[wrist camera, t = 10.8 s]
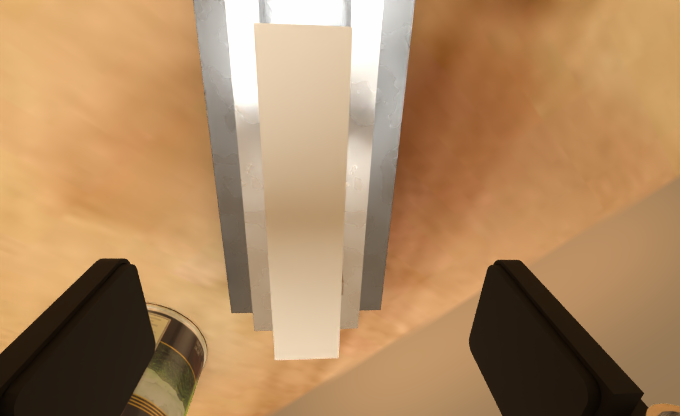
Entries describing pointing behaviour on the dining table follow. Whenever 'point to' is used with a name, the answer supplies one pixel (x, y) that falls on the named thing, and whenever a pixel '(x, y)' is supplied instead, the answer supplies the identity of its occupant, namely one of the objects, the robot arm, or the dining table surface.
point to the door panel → (304, 179)
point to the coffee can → (169, 366)
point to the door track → (363, 139)
